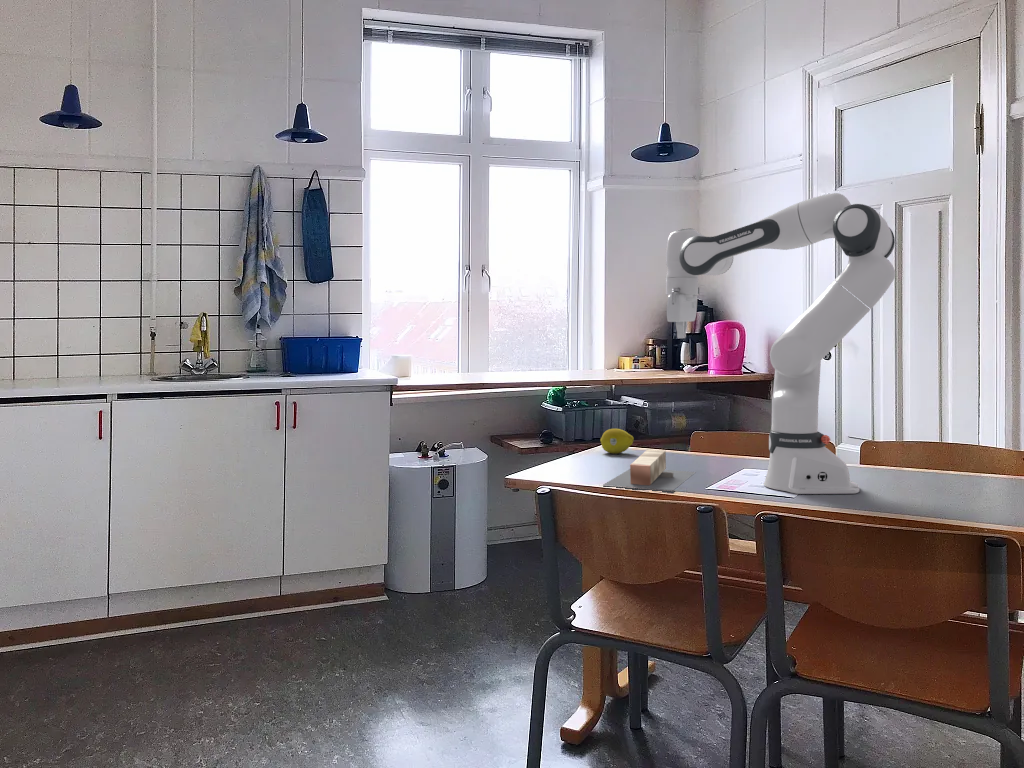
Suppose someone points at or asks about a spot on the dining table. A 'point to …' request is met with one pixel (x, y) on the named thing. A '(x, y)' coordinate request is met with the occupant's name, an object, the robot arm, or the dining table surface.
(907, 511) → the dining table surface
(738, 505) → the dining table surface
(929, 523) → the dining table surface
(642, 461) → the birch block
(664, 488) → the mat
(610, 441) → the lemon
